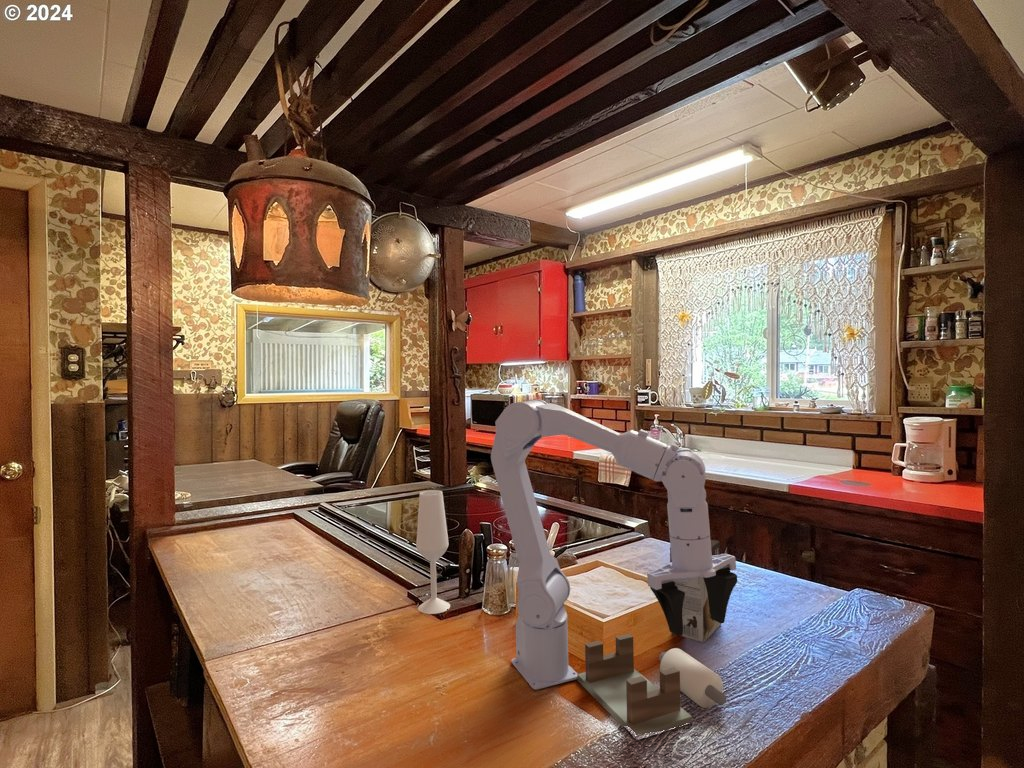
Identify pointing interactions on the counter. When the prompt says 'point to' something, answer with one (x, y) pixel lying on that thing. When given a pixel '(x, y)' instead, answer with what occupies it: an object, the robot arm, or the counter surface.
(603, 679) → the roll holder
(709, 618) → the coffee box
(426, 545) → the champagne flute
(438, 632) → the counter surface
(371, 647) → the counter surface
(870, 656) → the counter surface
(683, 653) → the paper roll
